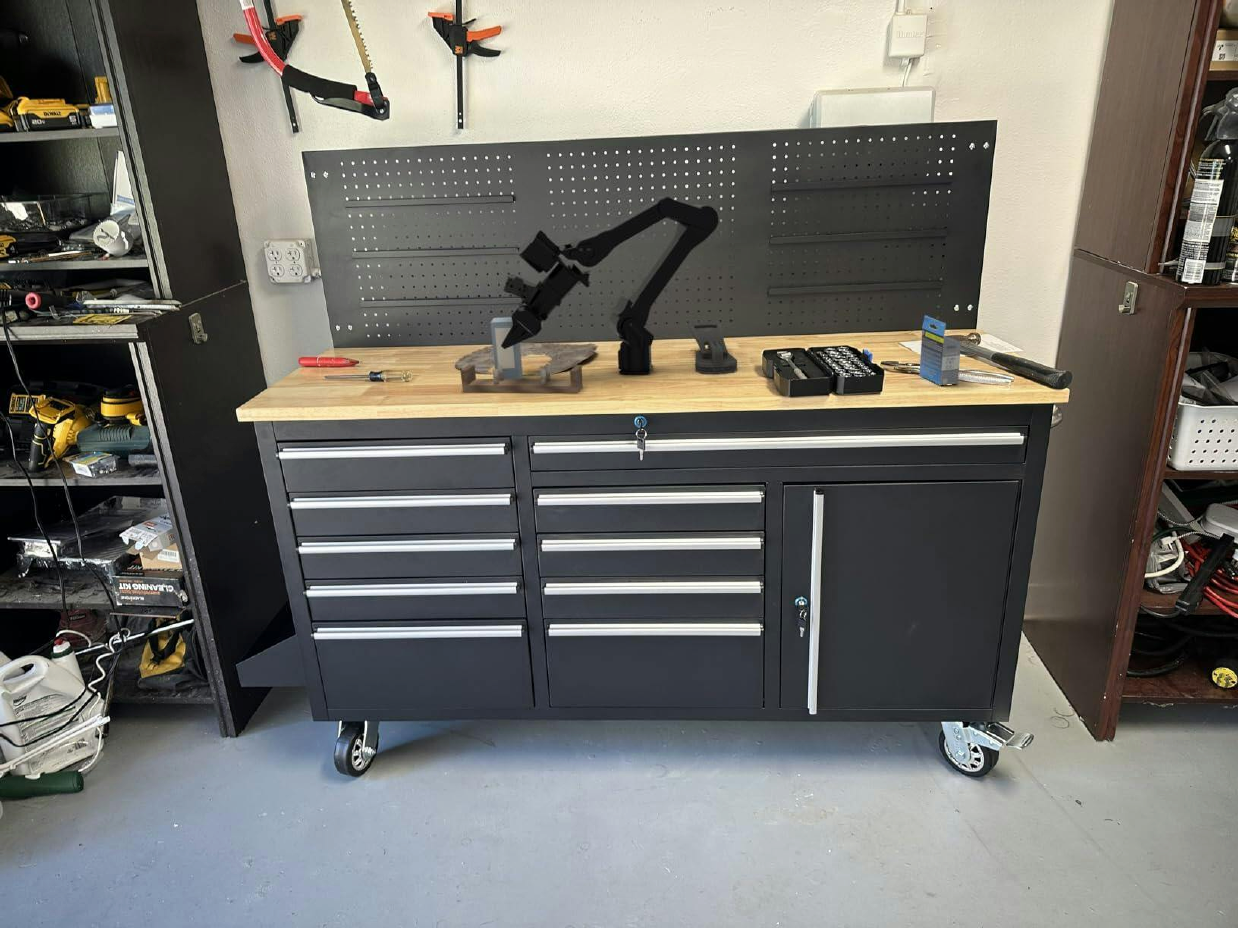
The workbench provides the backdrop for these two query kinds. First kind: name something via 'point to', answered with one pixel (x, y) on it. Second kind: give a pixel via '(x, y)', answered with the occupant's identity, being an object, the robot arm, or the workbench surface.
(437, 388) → the workbench surface
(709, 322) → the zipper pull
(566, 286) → the robot arm
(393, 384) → the workbench surface
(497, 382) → the rail
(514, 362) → the frame block
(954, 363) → the label tape box
